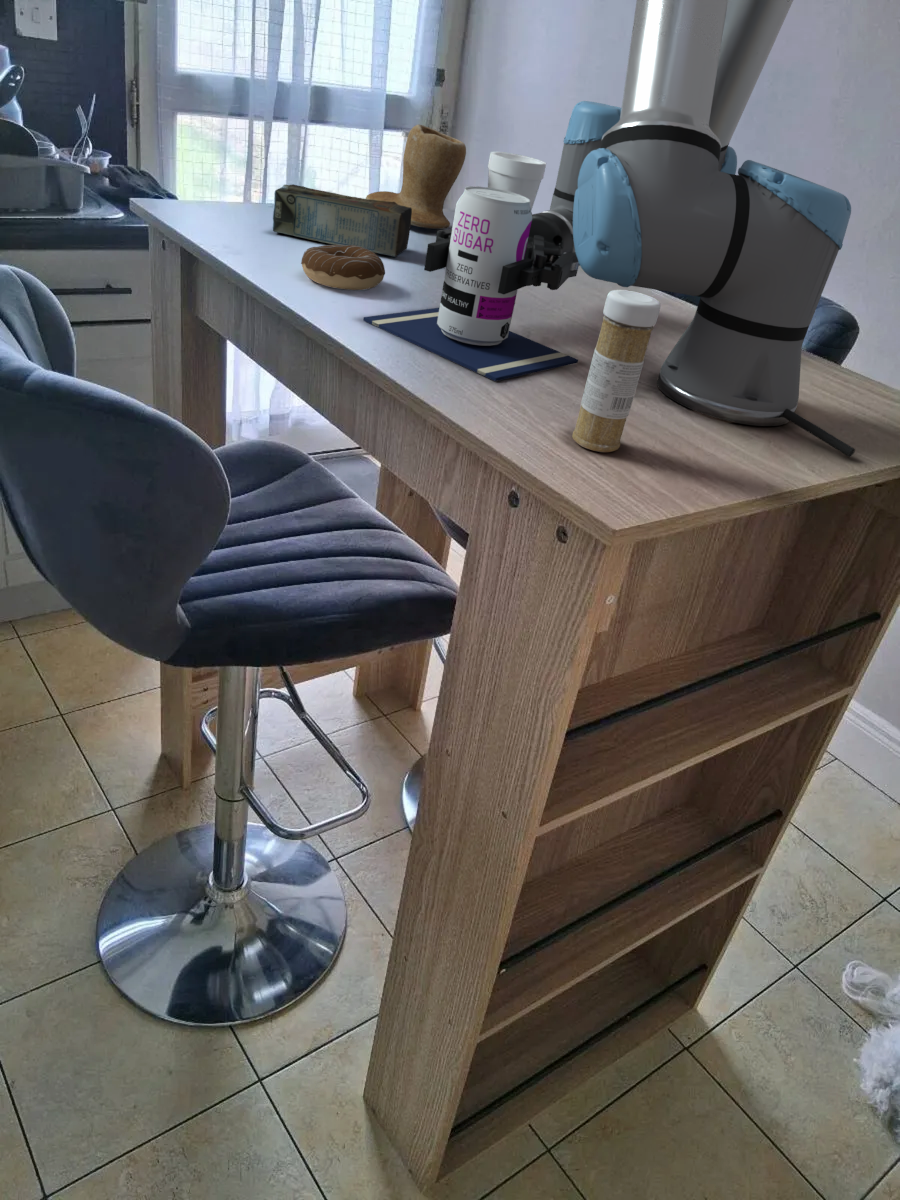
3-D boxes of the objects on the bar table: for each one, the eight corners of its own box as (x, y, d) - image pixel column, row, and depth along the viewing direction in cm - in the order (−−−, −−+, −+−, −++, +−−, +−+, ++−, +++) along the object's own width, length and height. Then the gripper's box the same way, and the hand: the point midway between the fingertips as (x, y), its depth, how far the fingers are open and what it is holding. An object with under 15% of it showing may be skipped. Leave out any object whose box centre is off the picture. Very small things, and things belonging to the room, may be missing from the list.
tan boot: (466, 235, 153) (483, 138, 145) (407, 233, 147) (421, 131, 139) (419, 213, 163) (432, 121, 155) (362, 210, 156) (372, 114, 148)
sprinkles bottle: (607, 434, 85) (648, 291, 78) (627, 455, 81) (671, 306, 74) (563, 432, 84) (600, 285, 76) (581, 453, 80) (621, 301, 73)
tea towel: (577, 363, 103) (578, 359, 102) (495, 381, 92) (496, 377, 92) (450, 309, 112) (450, 305, 112) (363, 320, 102) (363, 316, 102)
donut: (380, 300, 111) (384, 266, 108) (294, 285, 110) (297, 251, 107) (385, 279, 119) (389, 247, 117) (306, 265, 118) (308, 233, 116)
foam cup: (525, 250, 151) (542, 166, 144) (472, 238, 152) (486, 154, 145) (532, 240, 159) (548, 161, 152) (481, 229, 160) (495, 149, 153)
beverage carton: (287, 224, 137) (290, 177, 134) (409, 250, 136) (415, 204, 133) (270, 232, 130) (273, 184, 127) (398, 260, 130) (405, 212, 126)
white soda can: (508, 331, 106) (536, 195, 97) (504, 353, 99) (534, 208, 91) (440, 318, 106) (463, 181, 97) (432, 338, 99) (455, 192, 90)
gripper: (615, 297, 111) (548, 332, 93) (466, 253, 117) (376, 278, 99) (632, 234, 107) (565, 258, 89) (476, 192, 113) (385, 206, 95)
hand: (465, 269), depth 94 cm, fingers closed on white soda can, 8 cm apart
